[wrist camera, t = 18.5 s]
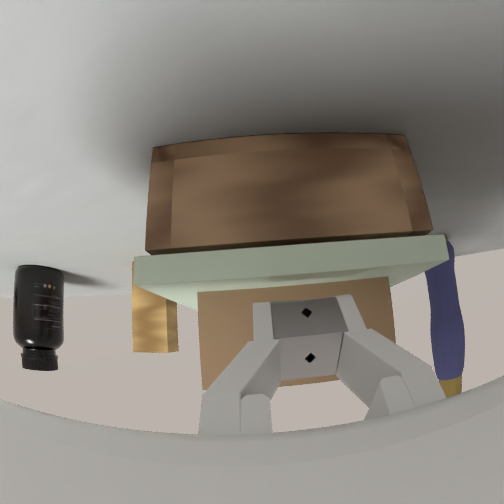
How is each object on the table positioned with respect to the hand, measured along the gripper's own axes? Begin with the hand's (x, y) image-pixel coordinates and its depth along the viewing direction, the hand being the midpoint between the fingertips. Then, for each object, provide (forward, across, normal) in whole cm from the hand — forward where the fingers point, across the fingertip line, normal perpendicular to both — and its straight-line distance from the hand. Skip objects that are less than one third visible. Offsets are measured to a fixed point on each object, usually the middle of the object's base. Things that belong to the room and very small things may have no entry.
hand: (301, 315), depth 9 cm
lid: (+9, 0, +5) cm, 10 cm away
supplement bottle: (+19, +28, +9) cm, 35 cm away
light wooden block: (+19, +12, +9) cm, 24 cm away
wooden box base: (+12, 0, +2) cm, 12 cm away
